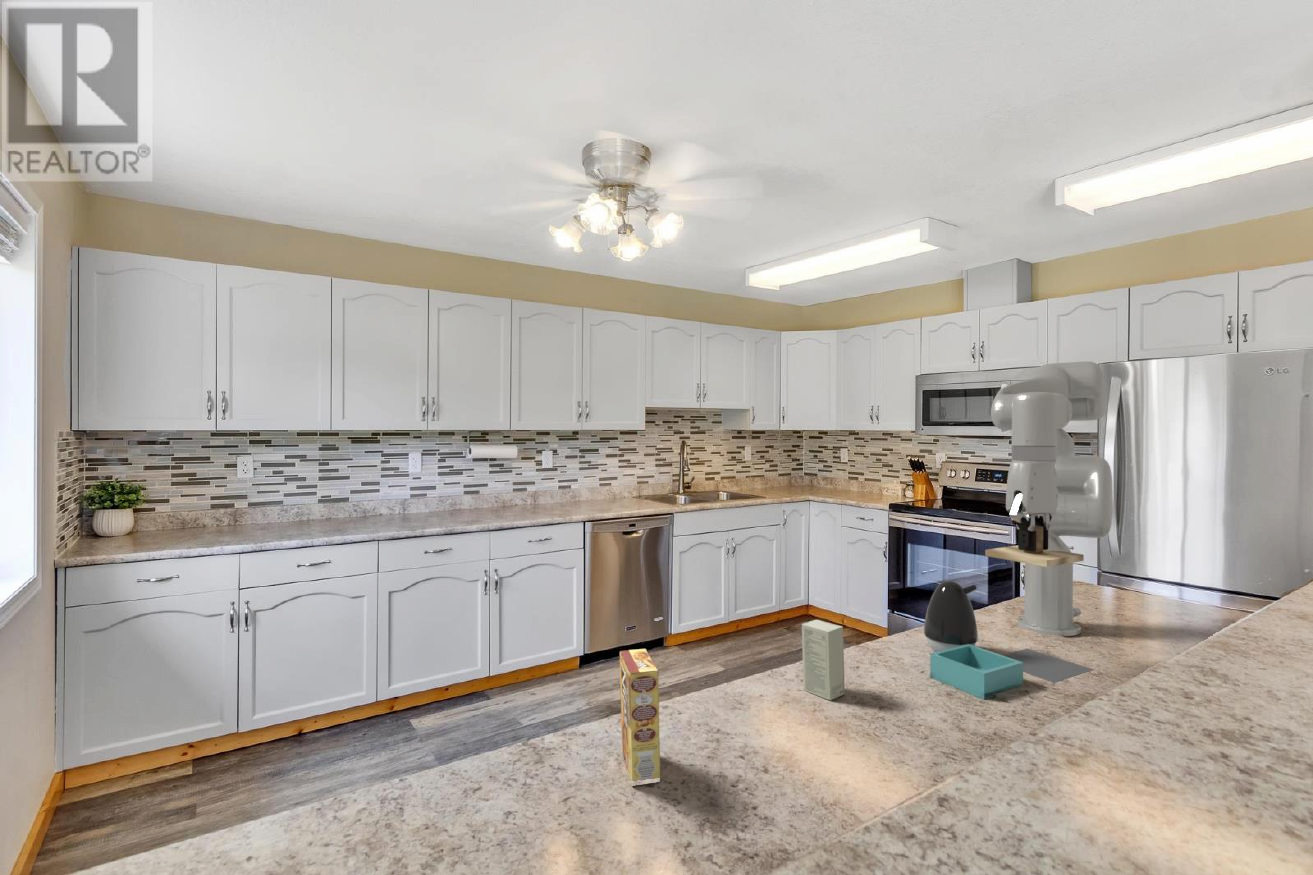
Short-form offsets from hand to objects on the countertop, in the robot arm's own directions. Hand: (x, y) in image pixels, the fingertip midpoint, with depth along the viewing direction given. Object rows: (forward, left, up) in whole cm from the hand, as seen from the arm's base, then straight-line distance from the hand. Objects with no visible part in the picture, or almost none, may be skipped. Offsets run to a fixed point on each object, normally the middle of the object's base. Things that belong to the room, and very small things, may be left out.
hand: (1033, 548), depth 122 cm
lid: (0, 0, -2) cm, 2 cm away
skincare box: (+44, -11, -24) cm, 51 cm away
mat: (-2, 0, -24) cm, 24 cm away
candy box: (+84, -4, -24) cm, 87 cm away
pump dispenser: (+7, -13, -24) cm, 28 cm away
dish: (+16, -1, -24) cm, 28 cm away
